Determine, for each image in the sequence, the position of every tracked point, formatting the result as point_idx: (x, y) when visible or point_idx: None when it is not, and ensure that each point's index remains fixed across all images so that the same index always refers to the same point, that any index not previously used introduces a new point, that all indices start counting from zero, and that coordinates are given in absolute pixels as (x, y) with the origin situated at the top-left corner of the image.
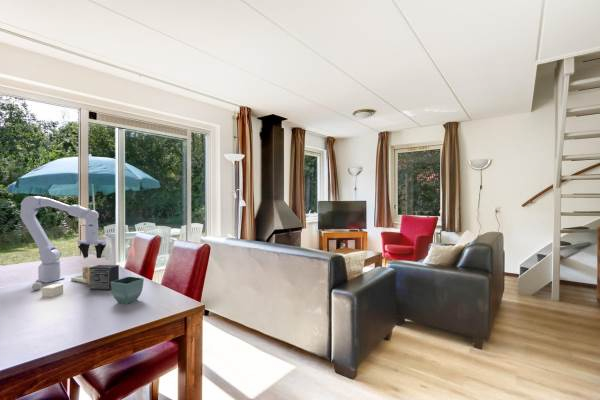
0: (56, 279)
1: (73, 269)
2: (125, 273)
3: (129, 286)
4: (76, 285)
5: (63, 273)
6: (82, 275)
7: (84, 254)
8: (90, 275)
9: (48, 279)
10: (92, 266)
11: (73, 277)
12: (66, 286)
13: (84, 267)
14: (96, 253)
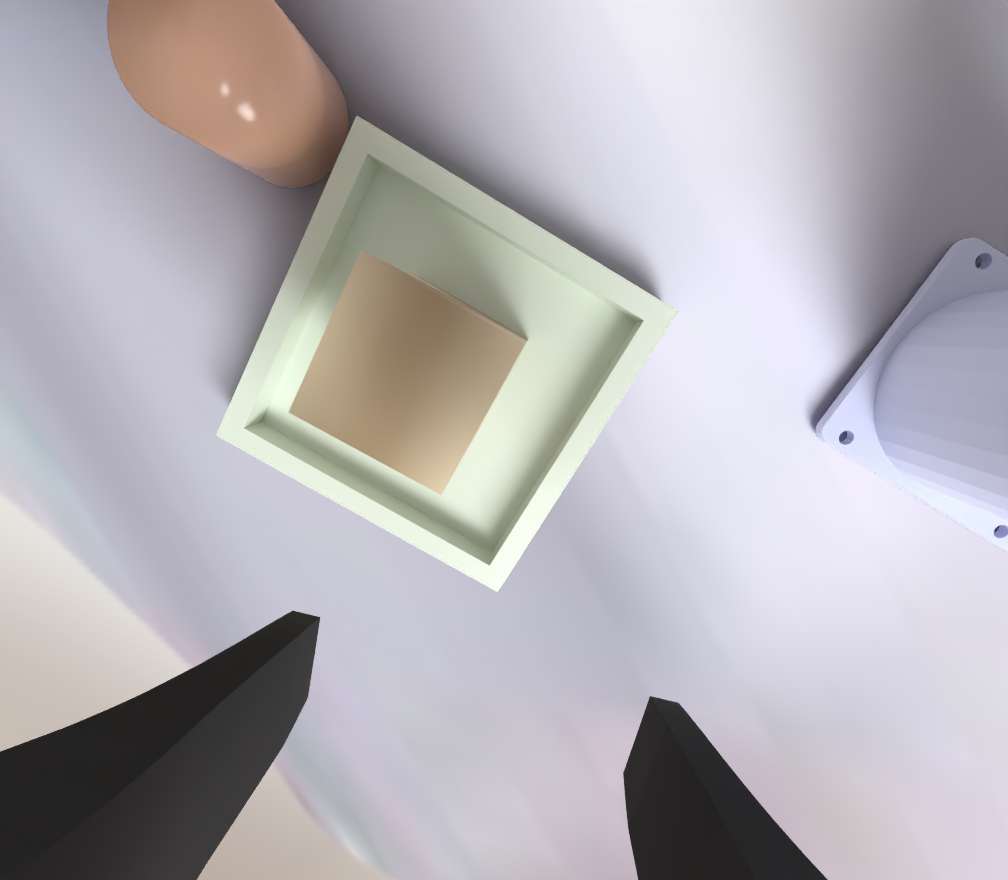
0: (891, 353)
1: (915, 863)
2: (158, 577)
3: None
4: (463, 54)
5: (956, 701)
6: (577, 424)
7: (684, 779)
8: None
9: (994, 292)
10: (361, 386)
11: (639, 298)
12: (578, 13)
13: (474, 316)
14: (236, 687)
